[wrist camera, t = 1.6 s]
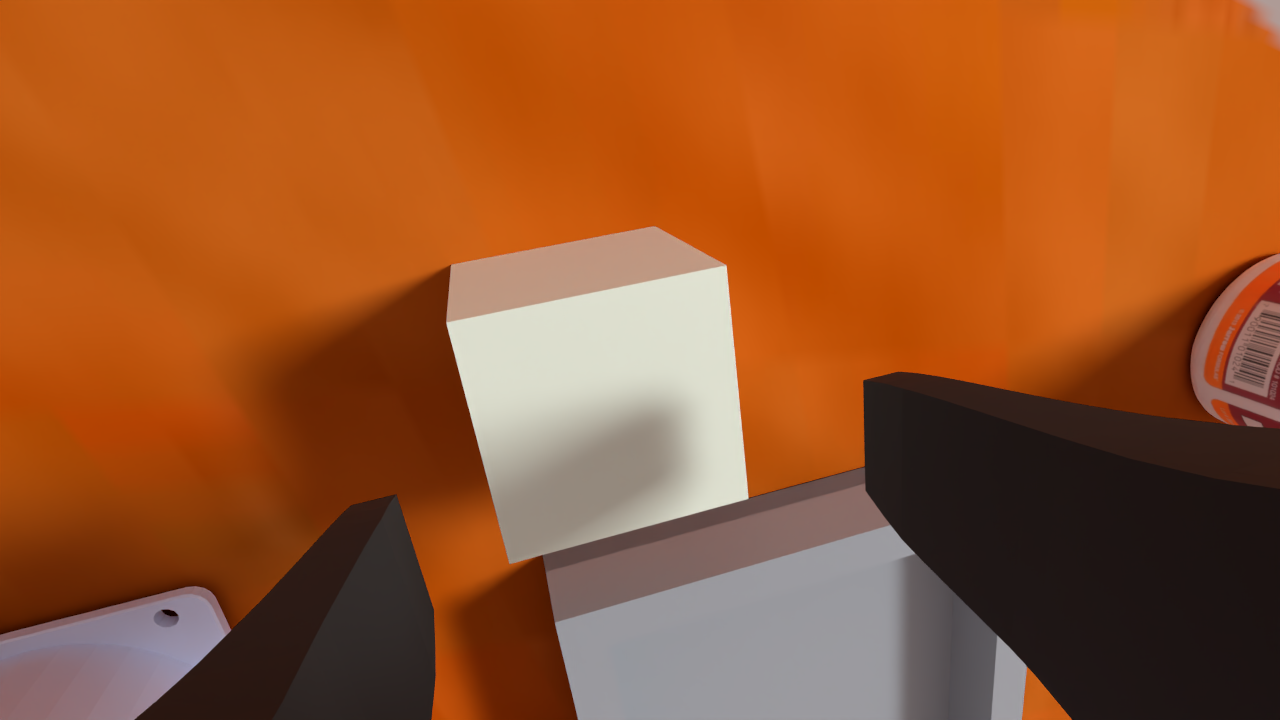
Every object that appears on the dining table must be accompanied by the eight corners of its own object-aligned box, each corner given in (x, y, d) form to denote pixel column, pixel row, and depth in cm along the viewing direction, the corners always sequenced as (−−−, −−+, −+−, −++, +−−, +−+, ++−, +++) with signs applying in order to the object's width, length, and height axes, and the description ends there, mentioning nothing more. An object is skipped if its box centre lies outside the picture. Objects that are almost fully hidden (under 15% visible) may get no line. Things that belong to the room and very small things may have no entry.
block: (497, 448, 18) (509, 564, 13) (450, 264, 16) (446, 322, 11) (677, 405, 18) (748, 498, 14) (653, 225, 17) (726, 265, 12)
